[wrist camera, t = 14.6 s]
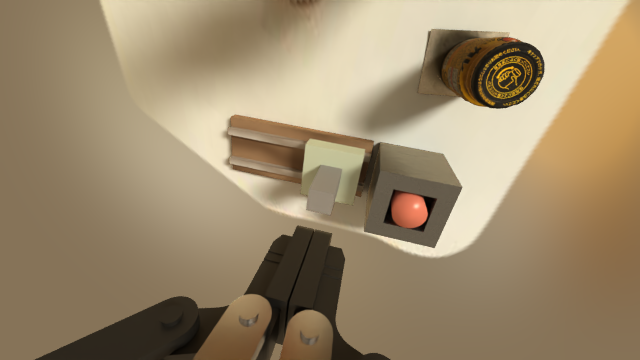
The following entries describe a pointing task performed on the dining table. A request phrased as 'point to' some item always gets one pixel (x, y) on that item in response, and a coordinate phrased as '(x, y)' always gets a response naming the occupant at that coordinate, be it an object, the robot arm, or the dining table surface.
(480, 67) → the condiment
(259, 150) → the rail track
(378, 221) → the cabinet
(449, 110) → the dining table surface
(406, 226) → the plunger
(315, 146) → the carriage
